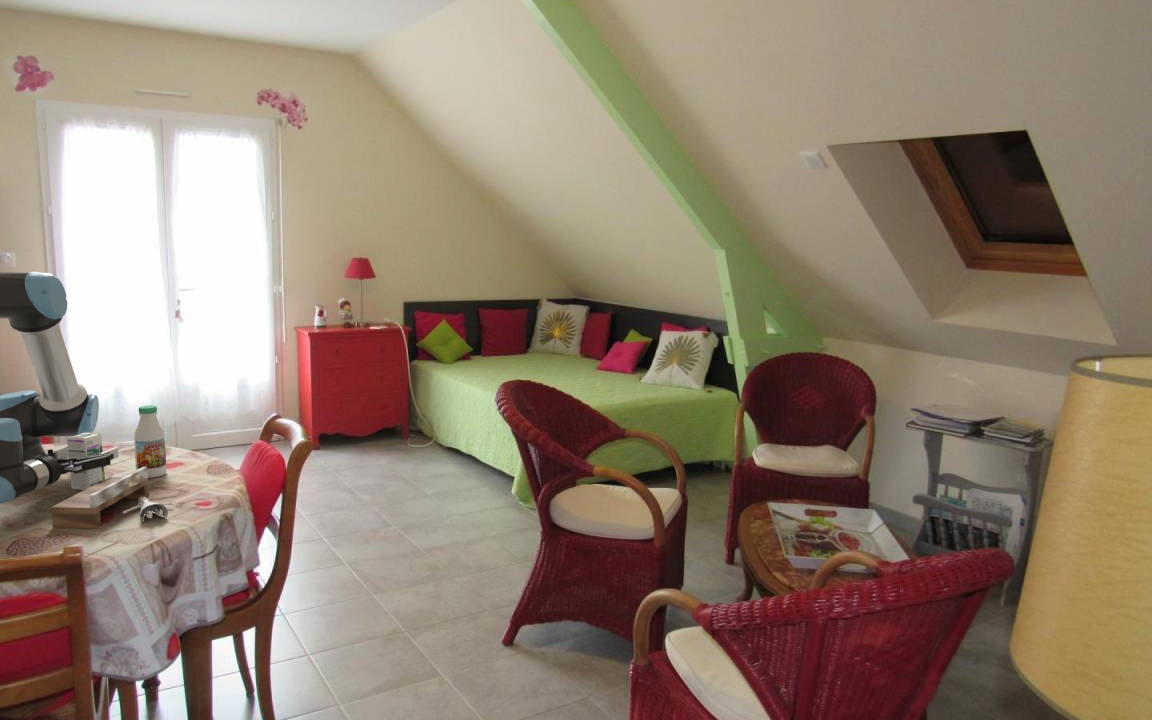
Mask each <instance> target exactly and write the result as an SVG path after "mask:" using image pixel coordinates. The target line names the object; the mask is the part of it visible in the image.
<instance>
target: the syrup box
mask: <svg viewBox="0 0 1152 720" xmlns="http://www.w3.org/2000/svg"><path fill="white" fill-rule="evenodd" d="M66 441H67V447H68V454H69V457H68V458H72V457H74V458H76V459H78V458H84V457H90V456H96V455H100V453H102V452H104V451H103V442H102V441H103V440H102V434H101V433H97V432H92V433H82V434H79V435H75V436H67V437H66ZM70 464H71V466H72V461H70ZM69 473H70V475H69V476H70V482H71V483H70V486H71V489H72V490H76V491H77V490H78V491H80V490H81V491H84V490H86V489H88V488H90V487H91V486H93V485H95V484H97V483H99V482H101V481H103V480H105V479H106V478H105V467H104V466H103V467H99V468H95V469H90V470H86V471H83V472H80V473H77V474H74V471H73V472H69Z"/></svg>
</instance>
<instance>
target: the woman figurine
mask: <svg viewBox="0 0 1152 720" xmlns="http://www.w3.org/2000/svg"><path fill="white" fill-rule="evenodd" d="M174 505H175V503H174V502H155V501H154V502H153V501H151V500H150V497H144V496H141V497H140V498H137V505H136V506H133V507H131V508H128V509H125V510H123V511H122V514H124V515H125V514H126V513H128V512H131V511H134V510H137V509H140V512H139V518H140V521H141V522H142V523H144V522H143V517H144V514H146V516H145V517H146V518H147V519H152V518H153V514H152V511H153V512H155V513H156V514H155V515H156V516H158V517H161V518H162V516H164V517H166V518H168V513H169V510H168V508H167V507H166V506H174ZM149 511H150V513H149ZM145 517H144V518H145Z"/></svg>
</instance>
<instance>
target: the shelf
mask: <svg viewBox="0 0 1152 720" xmlns="http://www.w3.org/2000/svg"><path fill="white" fill-rule="evenodd" d="M149 492H150V489H149V478H148V470H147V467H142V468H140V469H138V470H136V469H135V471H133V472H131V473H129V474H127V475H125V476H123V477H121V476H118V477H117V476H116V477H114V476H111V477H110V476H109V477H108V478H105V480H103V481H101V482H99V483H97V484H95V485H93V486H91V487H90V488H88V489H86V490H81V491H80V492H78V493H76V494H74V495H72V496H71V497H68V498H66V499H65V500H63V501H60V502H58V503H57V504H55V505H53V506H51V520H52V523H51V524H52V528H53V529H55V528H56V529H97V528H96V527H98V526H99V527H101V526H100V525H102V523H101V511H103V510H104V509H106V508H108V507H109V506H111V505H114V504H115V503H117V502H118V501H120V500H122V499H139V498H140V497H141V496H144V497H147V498H149V497H150V493H149ZM148 496H149V497H148ZM99 527H98V528H99Z"/></svg>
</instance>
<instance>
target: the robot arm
mask: <svg viewBox="0 0 1152 720" xmlns="http://www.w3.org/2000/svg"><path fill="white" fill-rule="evenodd" d="M67 310H68V300H67V293H66V289H65V286H64V285H63V283H62V281H61V280H60V278H59V277H57V276H56V275H54V274H52V273H49V272H39V271H30V272H12V271H11V272H7V271H5V272H4V271H3V272H2V271H1V272H0V319H7V320H8V322H9V324H10V327H11V328H12V329H13V330H15V331H16V332H19V333H20V335H21V337H22V339H23V340H22V341H23V343H24V345H25V348H26V350H27V354H28V356H29V359H30V361H31V365H32V367H33V368H32V369H33V370H34V373H35V376H36V378H37V381H38V384H39V387H40V390H41V393H40V395H39V393H38V391H37V390H21V391H15V392H9V393H5V394H1V395H0V505H2V504H6V503H10V502H12V501H13V500H15V499H18V498H21V497H22V496H24V495H31V494H32V492H35V491H37V490H40V489H42V488H45V487H47V486H50V485H52V484H55V483H56V482H58V480H59V479H60V477H61V476H62V475H65V474H67V473H70V472H73V471H74V474H77V473H80V472H83V471H86V470H90V469H95V468H99V467H103V466H104V468H105V467H107V466H110V465H111V463H112V460H115V459H117V458H119V447H116V446H115V447H113V448H110V449H107V450H105V451H103V452H102V453H100V455H96V456H90V457H84V458H78V459H76V458H74V457H72V458H69V454H68V446H65V447H64V448H60V449H58V450H54V449H48V450H47V453H46V450H45V449H44V447H43V445H42V438H45V437H48V438H49V437H72V436H75V435H79V434H82V433H94V431H95V429H96V427H97V424H98V419H99V412H100V408H99V407H100V402H99V401H100V400H99V397H98V395H96V394H93V393H90V394H88V391H87V389H86V387H85V386H84V385H83V384H80V383H78V380H77V377H76V375H75V371H74V369H73V368H74V367H73V364H72V362H71V359H70V356H69V351H68V349H67V346H66V343H65V340H64V337H63V334H62V331H61V330H62V329H61V326H60V323H61V322H62V320H63V318H64V316H65V315H66V314H67V312H68V311H67ZM70 461H72V466H71V464H70Z"/></svg>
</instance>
